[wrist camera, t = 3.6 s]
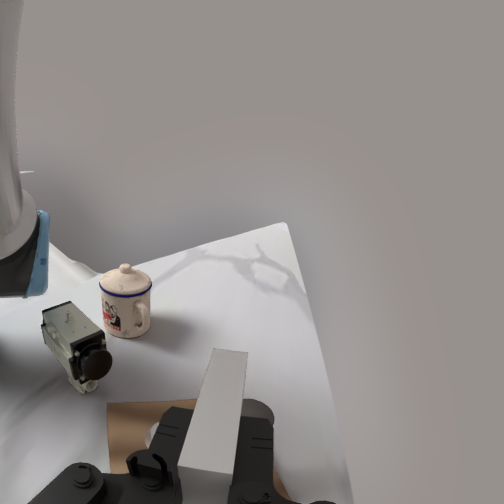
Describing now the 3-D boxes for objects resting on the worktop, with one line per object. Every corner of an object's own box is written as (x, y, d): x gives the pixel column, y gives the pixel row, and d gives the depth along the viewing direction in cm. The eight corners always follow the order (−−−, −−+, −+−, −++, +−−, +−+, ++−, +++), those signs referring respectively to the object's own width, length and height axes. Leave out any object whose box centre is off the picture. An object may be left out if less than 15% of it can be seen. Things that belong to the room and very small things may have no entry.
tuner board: (107, 406, 34) (106, 400, 34) (236, 398, 41) (238, 392, 40) (121, 532, 18) (119, 528, 18) (289, 506, 25) (292, 501, 25)
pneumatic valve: (76, 356, 41) (65, 289, 37) (120, 400, 36) (110, 330, 32) (47, 368, 37) (31, 300, 33) (88, 418, 31) (70, 347, 27)
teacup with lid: (95, 318, 52) (90, 260, 48) (136, 306, 58) (136, 251, 54) (124, 355, 45) (120, 291, 41) (170, 338, 51) (173, 278, 47)
